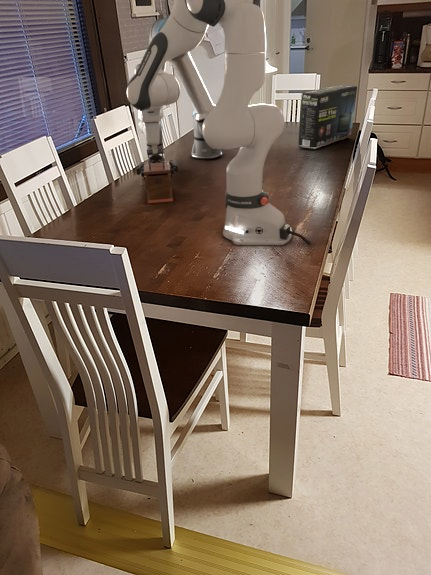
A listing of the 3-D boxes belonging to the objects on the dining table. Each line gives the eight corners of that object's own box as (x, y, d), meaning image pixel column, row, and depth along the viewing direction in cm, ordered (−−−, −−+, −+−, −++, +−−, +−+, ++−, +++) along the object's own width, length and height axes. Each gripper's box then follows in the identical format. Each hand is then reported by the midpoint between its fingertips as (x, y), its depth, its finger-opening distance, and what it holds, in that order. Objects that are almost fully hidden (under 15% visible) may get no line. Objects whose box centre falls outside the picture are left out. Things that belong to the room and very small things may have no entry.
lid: (170, 172, 171) (168, 149, 167) (144, 174, 170) (141, 151, 166) (169, 164, 184) (167, 142, 180) (144, 166, 183) (141, 144, 179)
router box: (314, 151, 231) (318, 94, 217) (296, 148, 237) (299, 92, 224) (352, 138, 251) (358, 85, 238) (335, 135, 258) (340, 83, 245)
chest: (173, 201, 177) (170, 174, 172) (147, 203, 176) (144, 176, 171) (171, 189, 189) (169, 164, 184) (147, 191, 188) (144, 166, 183)
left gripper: (182, 167, 205) (186, 182, 186) (131, 170, 202) (130, 187, 183) (181, 150, 201) (185, 164, 182) (129, 153, 199) (128, 168, 180)
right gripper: (142, 108, 172) (146, 146, 179) (141, 118, 154) (146, 159, 161) (158, 107, 172) (162, 145, 179) (160, 117, 155) (164, 158, 162)
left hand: (157, 175), depth 183 cm, fingers closed on chest, 10 cm apart
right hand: (155, 152), depth 170 cm, fingers closed on lid, 2 cm apart
